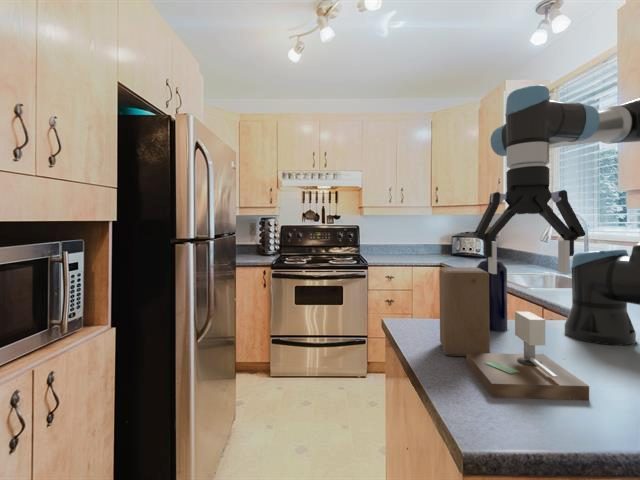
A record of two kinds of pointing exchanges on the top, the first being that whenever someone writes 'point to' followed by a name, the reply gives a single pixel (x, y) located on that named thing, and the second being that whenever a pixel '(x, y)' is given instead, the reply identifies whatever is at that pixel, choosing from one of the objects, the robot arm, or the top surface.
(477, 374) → the board
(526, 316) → the cream block and rod
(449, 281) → the wooden block
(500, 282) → the bottle
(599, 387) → the top surface
